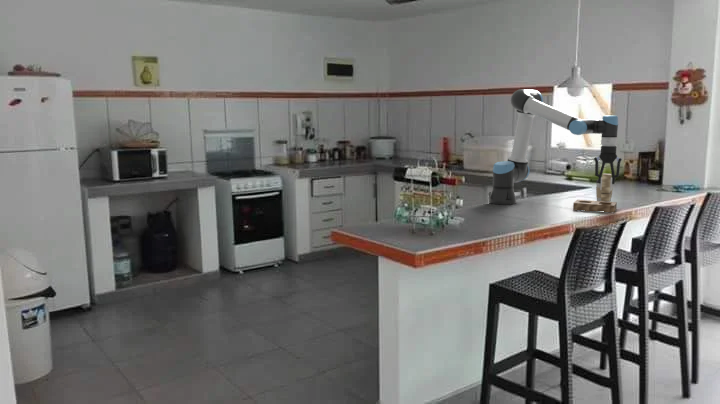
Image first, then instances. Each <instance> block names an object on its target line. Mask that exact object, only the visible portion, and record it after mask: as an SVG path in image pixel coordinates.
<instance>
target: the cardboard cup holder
mask: <svg viewBox="0 0 720 404" xmlns="http://www.w3.org/2000/svg"><path fill="white" fill-rule="evenodd" d="M617 203H618V202H617V201H611V202H606V201H597V200H591V199H588V200H587V199H576V200H574V202H573V203H572V204H573V205H572V211H576V210H585V211H584V212H590V211H604V212H614V211H615V210H616V211H617ZM616 211H615V212H616ZM615 212H614V213H615Z"/></svg>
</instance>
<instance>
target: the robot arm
mask: <svg viewBox="0 0 720 404" xmlns="http://www.w3.org/2000/svg"><path fill="white" fill-rule="evenodd" d="M510 104H511V106H512V108H513V109H515V110H516V114H517V115H518V116H517V123H516V127H515V132H514V139H513V144H512V149H511V155H510V156H509V157H507V160H504V161H497V162H495V163H494V164H493V167H492V188H491V192H490V195H489V199H488V201H489V203H490V204H494V205H505V206H506V205H507V206H508V205H516V204H517V197H516V194H515V191H514V183H520V182H523V181H525V180H526V179H527V178H528V177H529V175H530V171H531V170H530V167H529V165H528V164H529V160H528V159H527V154H528V149H529V144H530V138H531V133H532V129H533V123H534V120H535V117H537V118H541V119H543V120H545V121H547V122H550V123H552V124H554V125H556V126H559V127H561V128H563V129H565V130H567V131H569V132H570V133H571V134H572V135H575V136H581V135H589V134H592V135H593V134H595V135H597V134H599V135H600V134H601V140H600V145H601V146H600V154H599V156H596V157H593V158H594V159H593V160H594V162H595V164H594V165H595V166H594V176H595V177H597V178H598V179H599V182H598V183H600V184H601V186H600V190H602V174H604V173H603V172H604V170H605V165H606V164H609V166H610V172H611V173H610V174H612V177H611V181H610V191H612V184H613V185H615V183H616V178H619V176H620V168H621V162H622V160H623V158H622V157H618V155H617V145H618V129H619V117H618V115H603V116H602V118H600V119H598V118H597V119H593V118H584V119H583V118H582V119H581V118H580V117H577V116H574V115H571V114H570V113H567V112H565V111H563V110H560V109H558V108H556V107H553V106H551V105H548V104H546V103H544V98H543V95H542V94H541V92H540V91H538V90H536V89H532V88H531V89H530V88H529V89H528V88H527V89H525V88H523V89H521V88H519V89H518V90H515V91H514V92H513V93H512V95H511V97H510ZM599 161H601V162H602V163H601V165H600V166H601V167H600V170H599ZM615 161H616V171H615V166H614V162H615ZM612 192H613V191H612Z"/></svg>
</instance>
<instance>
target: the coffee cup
mask: <svg viewBox="0 0 720 404" xmlns="http://www.w3.org/2000/svg"><path fill="white" fill-rule="evenodd" d="M598 182H599V178H597V180H596V182H595V183H596V187H595V188H596V190H595V191H596V193H595V195H596V196H595V197H596V201H601V191H602V190H600V186H601V184H600V183H598ZM613 190H614V184H612V191H611V193H610V201H606V202H612V197H613Z"/></svg>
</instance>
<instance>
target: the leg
mask: <svg viewBox="0 0 720 404" xmlns="http://www.w3.org/2000/svg"><path fill="white" fill-rule="evenodd" d="M611 178H612V173H602V191H601V201H610V193H611V191H610V181H611Z"/></svg>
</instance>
